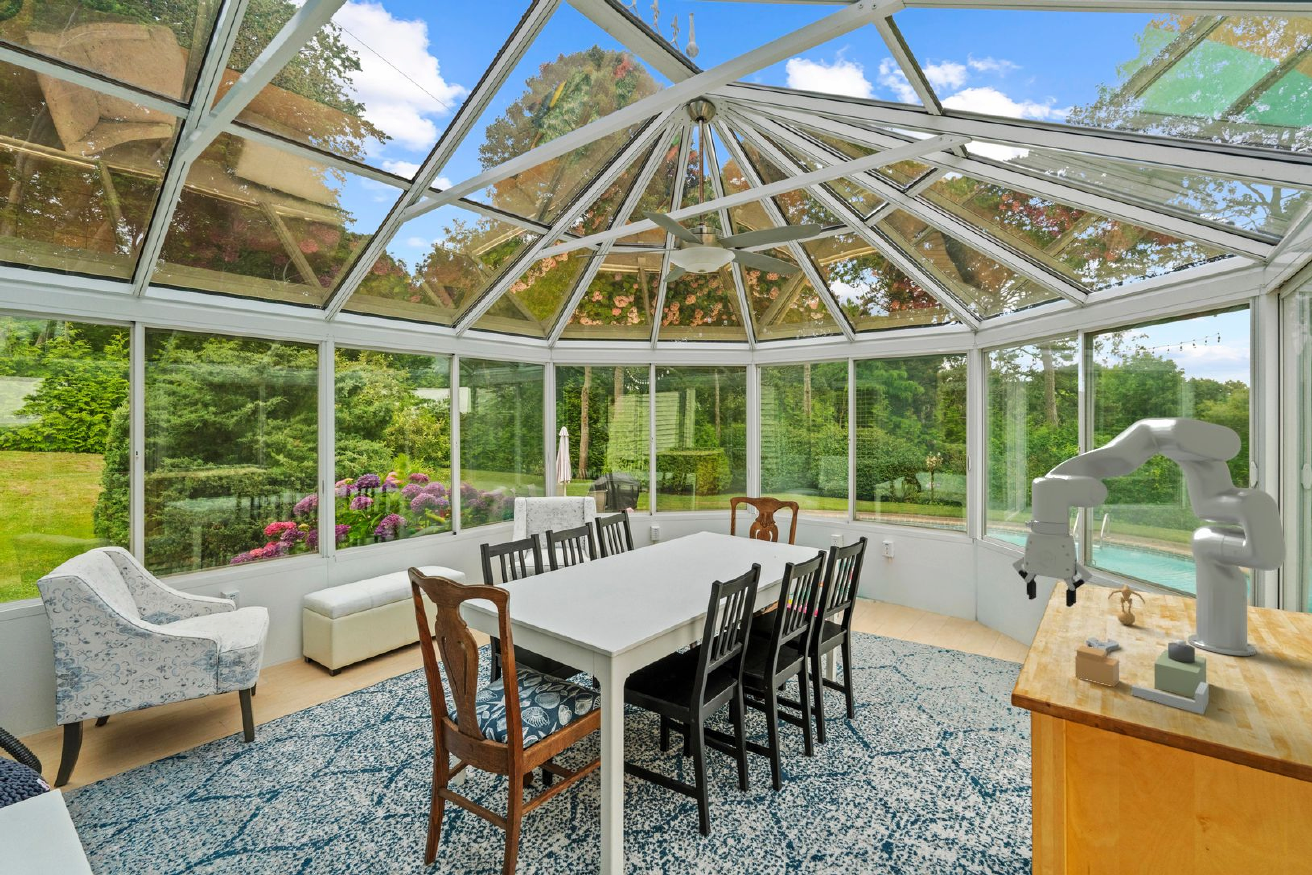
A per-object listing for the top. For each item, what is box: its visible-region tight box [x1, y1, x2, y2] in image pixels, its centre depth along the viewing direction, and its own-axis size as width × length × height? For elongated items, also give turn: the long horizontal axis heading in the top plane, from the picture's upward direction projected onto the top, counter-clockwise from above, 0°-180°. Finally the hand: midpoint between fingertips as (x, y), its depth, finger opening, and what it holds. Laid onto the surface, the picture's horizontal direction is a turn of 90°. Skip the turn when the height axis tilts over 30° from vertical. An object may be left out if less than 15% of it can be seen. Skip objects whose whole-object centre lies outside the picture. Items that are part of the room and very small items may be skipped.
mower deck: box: [1131, 639, 1210, 716], centre depth 126 cm, size 20×11×10 cm, turn 130°
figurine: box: [1107, 584, 1146, 626], centre depth 167 cm, size 8×6×12 cm
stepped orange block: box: [1074, 644, 1120, 688], centre depth 132 cm, size 5×7×6 cm
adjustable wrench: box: [1085, 637, 1120, 652], centre depth 146 cm, size 25×6×2 cm, turn 132°
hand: (1050, 601), depth 139 cm, fingers open, 7 cm apart
